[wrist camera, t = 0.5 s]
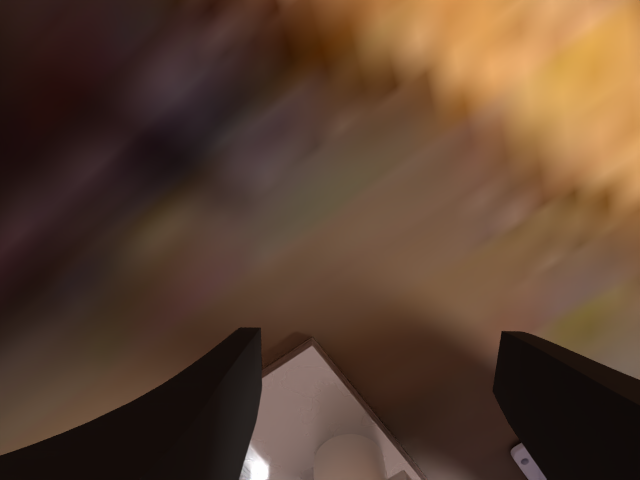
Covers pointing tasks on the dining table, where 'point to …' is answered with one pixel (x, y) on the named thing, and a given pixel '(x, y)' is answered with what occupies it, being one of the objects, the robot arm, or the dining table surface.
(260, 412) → the hub plate
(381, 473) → the knob
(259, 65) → the dining table surface
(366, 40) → the dining table surface
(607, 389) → the robot arm
